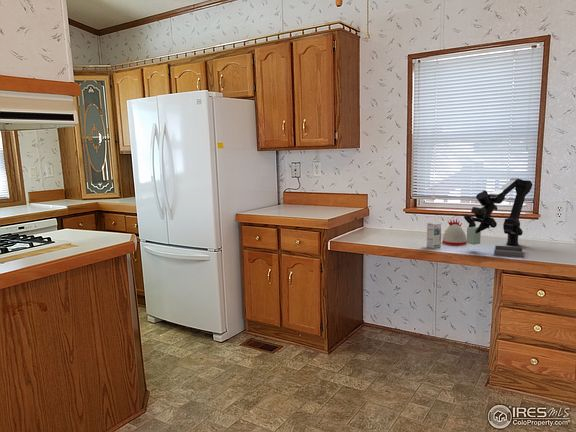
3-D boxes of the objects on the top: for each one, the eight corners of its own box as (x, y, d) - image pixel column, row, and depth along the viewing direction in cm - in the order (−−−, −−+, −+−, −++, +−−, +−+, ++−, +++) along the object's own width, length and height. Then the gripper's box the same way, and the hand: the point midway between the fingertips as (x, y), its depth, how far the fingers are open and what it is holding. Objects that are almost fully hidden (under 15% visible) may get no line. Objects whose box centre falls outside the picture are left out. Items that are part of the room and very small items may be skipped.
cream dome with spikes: (442, 240, 284) (443, 216, 282) (466, 241, 280) (467, 217, 277) (442, 244, 271) (443, 220, 269) (466, 246, 267) (467, 221, 264)
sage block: (466, 243, 254) (467, 227, 252) (472, 242, 256) (473, 226, 255) (473, 244, 249) (474, 228, 248) (480, 243, 252) (480, 227, 250)
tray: (494, 249, 255) (495, 245, 255) (522, 251, 249) (522, 247, 249) (494, 255, 243) (494, 250, 243) (523, 257, 237) (523, 252, 237)
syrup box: (433, 248, 262) (433, 223, 260) (426, 246, 267) (426, 222, 265) (440, 247, 264) (441, 223, 262) (433, 245, 269) (434, 221, 267)
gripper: (466, 200, 259) (452, 220, 256) (494, 203, 243) (479, 225, 239) (475, 212, 264) (461, 232, 261) (503, 216, 247) (488, 238, 244)
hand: (472, 232), depth 251 cm, fingers closed on sage block, 5 cm apart
